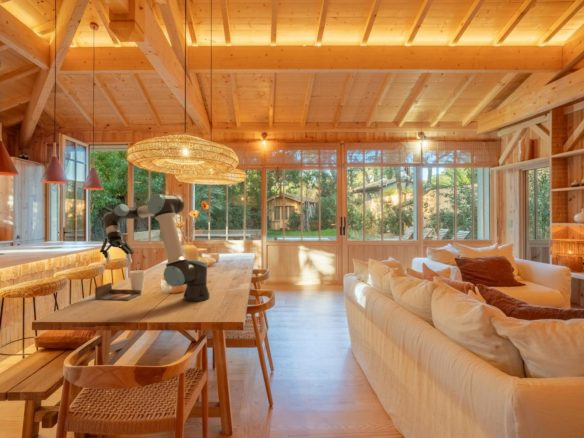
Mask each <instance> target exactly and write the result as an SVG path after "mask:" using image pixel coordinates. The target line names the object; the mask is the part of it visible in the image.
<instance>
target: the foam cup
mask: <svg viewBox="0 0 584 438" xmlns="http://www.w3.org/2000/svg"><path fill="white" fill-rule="evenodd" d="M146 274H147V272H146V270H141V269H138V270H137V269H136V270H131V271H129V279H130V287H131V290H141V293H142V292H143V291H144V288H145V287H144V285H145V279H146Z"/></svg>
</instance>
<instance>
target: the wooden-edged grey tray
mask: <svg viewBox="0 0 584 438" xmlns="http://www.w3.org/2000/svg"><path fill="white" fill-rule="evenodd" d="M112 284H113V283H112V282H109V283H105V284H102V285H99V286H97V287H94V290H95V291H94V293H95V294H94V300H97V301H125V302H126V301H131V300H133V299H135V298H137V297H139V296H141V295H142V292H141V290H132V289H117V288H112V287H113V285H112Z"/></svg>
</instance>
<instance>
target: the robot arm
mask: <svg viewBox="0 0 584 438" xmlns="http://www.w3.org/2000/svg"><path fill="white" fill-rule="evenodd" d="M184 209H185V201H184V199H183V198H182V197H181V196H179V195H177V194H165V193H155V194H153V195H151V196H150V198H149V199H148V202H147V205H142V206H136V207H129V206H128V205H126V204H124V203H120V204H118V205H117V206H115V207H114V209H113V210H112V211H108V212H105V213H104V214H103V215H102V216H103V223H104V227H105V231H106V238H104V240H103V243H102V245H101V248H100V250H99V252H100V253H102V255H103V257H104V258H105V259H106V261H105V262H106V264H110V262H111V258H110V253H109V250H110V249H111V247H113V248H119V249H120V250H121V251H123V252H124V253H125V254H126V258H127V262H128V265H132V263H133V260H132V259H133V256H132V255H134V253H135V251H134V250H133V249H132V247H131V246H130V244H128V241H127V240H124V241H123V240H122V234H121V230H120V227H119V223H120V222H121V221H122V220H130V219H131V220H132V219H133V220H135V219H137V220H141V219H145V218H148V217H153V216H154V219H155V221H157V222H158V225H159V229H160V233H161V237H162V241H163V245H164V249H165V253H166V258H167V262H166V264H165V266H166V267H165V269H164V270H163V278H164V281H165V283H167V284H168V285H169V286H171V287H180V286H184V285H186V287H185V290H184V293H183V296H182V297H183V301H187V302H203V301H207V300H209V299H210V293H209V289H208V286H207V284H208V283H207V281H208V280H207V276H208V273H207V272H208V267H207V266H208V264H207V262H206V261H205V260H198V259H197V260H195V259H187V258H185V257H184V253H183V250H182V246H181V245H182V244H181V241H180V237H179V236H180V235H179V232H178V229H177V225H176V221H175V217H176V215H177V214H180V213H181V212H183V210H184ZM107 243H108V244H109V245H108V246H107ZM106 246H107V248H106Z"/></svg>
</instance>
